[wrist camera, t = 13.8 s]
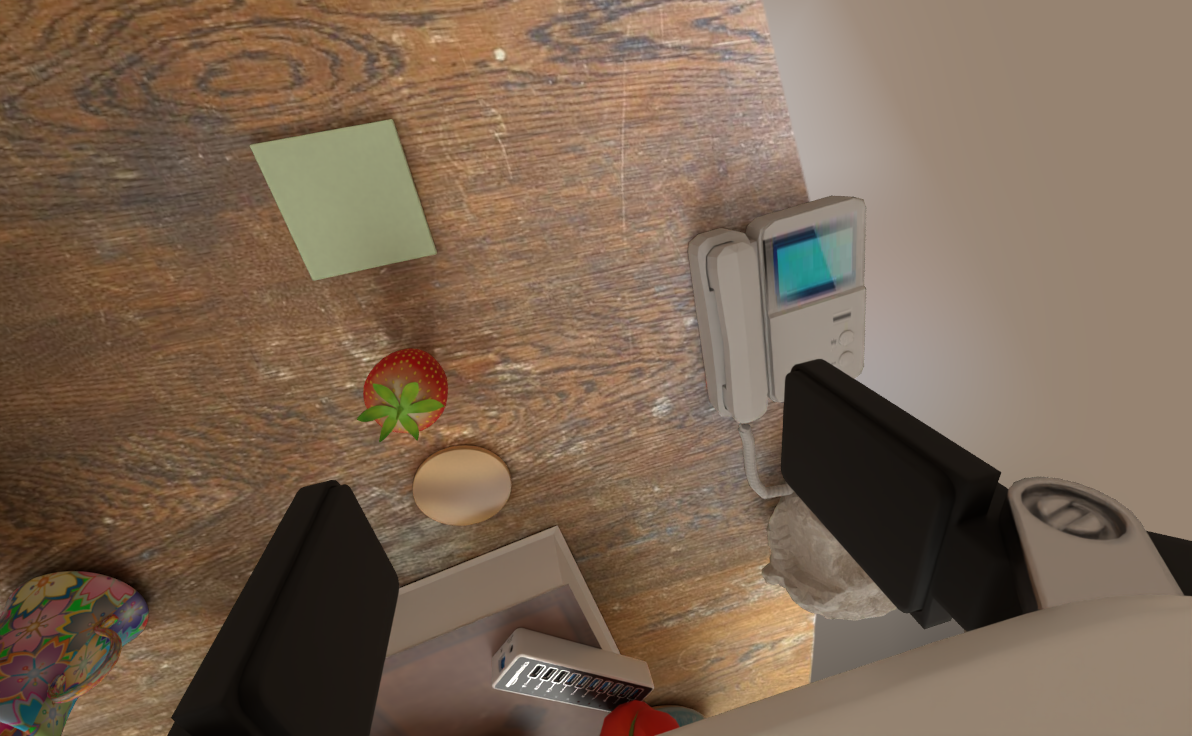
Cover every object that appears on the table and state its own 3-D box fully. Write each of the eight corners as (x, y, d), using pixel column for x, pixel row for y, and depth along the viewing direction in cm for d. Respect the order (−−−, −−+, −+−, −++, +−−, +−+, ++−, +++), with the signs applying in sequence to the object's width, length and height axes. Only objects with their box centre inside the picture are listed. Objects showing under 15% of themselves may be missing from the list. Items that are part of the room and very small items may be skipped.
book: (443, 762, 54) (437, 835, 48) (304, 626, 41) (274, 703, 35) (634, 681, 55) (651, 743, 49) (557, 525, 42) (568, 583, 36)
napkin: (252, 144, 26) (248, 144, 26) (393, 119, 27) (392, 118, 27) (314, 279, 30) (312, 280, 29) (437, 252, 30) (436, 254, 30)
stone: (772, 538, 37) (795, 412, 47) (738, 619, 48) (762, 504, 58) (1032, 632, 31) (994, 465, 41) (924, 700, 42) (915, 556, 52)
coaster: (398, 460, 36) (397, 464, 36) (497, 434, 37) (497, 438, 37) (432, 531, 40) (431, 536, 39) (521, 506, 41) (521, 511, 40)
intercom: (743, 522, 41) (709, 247, 30) (721, 491, 44) (684, 238, 34) (875, 475, 42) (889, 194, 31) (843, 449, 46) (845, 191, 35)
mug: (77, 657, 38) (-60, 824, 28) (-23, 587, 33) (-225, 756, 24) (220, 603, 38) (132, 748, 29) (139, 528, 34) (6, 670, 25)
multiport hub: (621, 690, 44) (627, 716, 42) (489, 660, 38) (489, 688, 36) (648, 662, 43) (656, 687, 41) (517, 626, 37) (519, 654, 35)
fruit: (455, 395, 35) (446, 456, 28) (383, 398, 34) (354, 461, 27) (451, 329, 33) (440, 376, 26) (373, 330, 32) (339, 379, 25)
